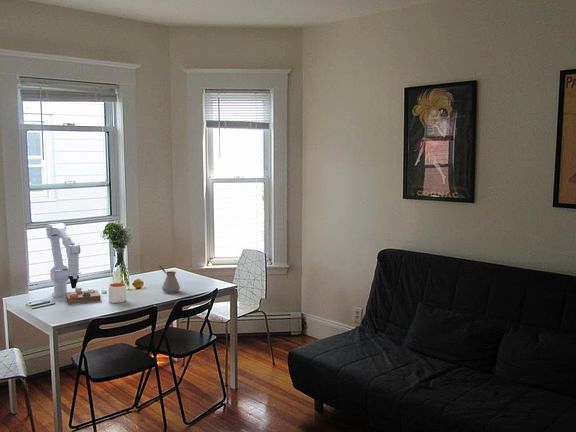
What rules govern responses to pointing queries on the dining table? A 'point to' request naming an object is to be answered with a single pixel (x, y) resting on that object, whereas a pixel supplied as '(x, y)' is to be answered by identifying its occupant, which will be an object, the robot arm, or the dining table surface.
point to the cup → (117, 292)
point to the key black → (86, 293)
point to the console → (80, 299)
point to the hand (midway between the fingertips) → (73, 288)
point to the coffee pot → (170, 282)
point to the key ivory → (91, 290)
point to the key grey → (78, 290)
